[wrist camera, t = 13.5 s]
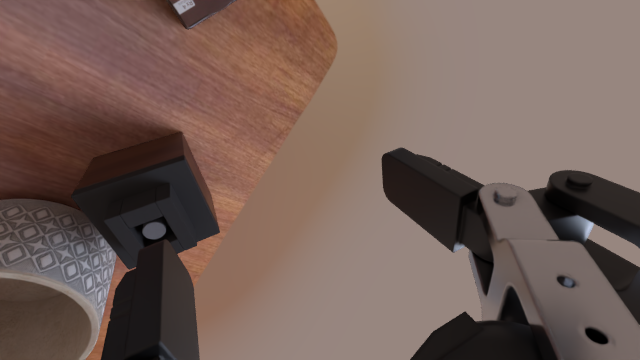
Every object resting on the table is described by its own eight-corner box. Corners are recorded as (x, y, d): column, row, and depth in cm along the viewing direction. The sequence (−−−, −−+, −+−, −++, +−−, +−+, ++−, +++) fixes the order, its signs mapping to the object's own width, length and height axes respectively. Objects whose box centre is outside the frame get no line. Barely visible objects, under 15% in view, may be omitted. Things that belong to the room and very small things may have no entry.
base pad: (73, 190, 27) (61, 211, 24) (184, 154, 29) (185, 169, 26) (129, 262, 32) (125, 287, 29) (218, 227, 35) (223, 245, 32)
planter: (10, 164, 30) (-72, 235, 20) (147, 240, 40) (138, 313, 30) (-115, 268, 30) (-264, 396, 19) (55, 319, 39) (15, 421, 29)
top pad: (108, 203, 27) (102, 220, 25) (170, 182, 29) (169, 196, 26) (142, 250, 31) (139, 269, 28) (195, 229, 32) (197, 245, 30)
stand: (92, 158, 33) (73, 190, 27) (182, 131, 36) (184, 154, 29) (136, 222, 38) (129, 262, 32) (211, 195, 41) (218, 227, 35)
